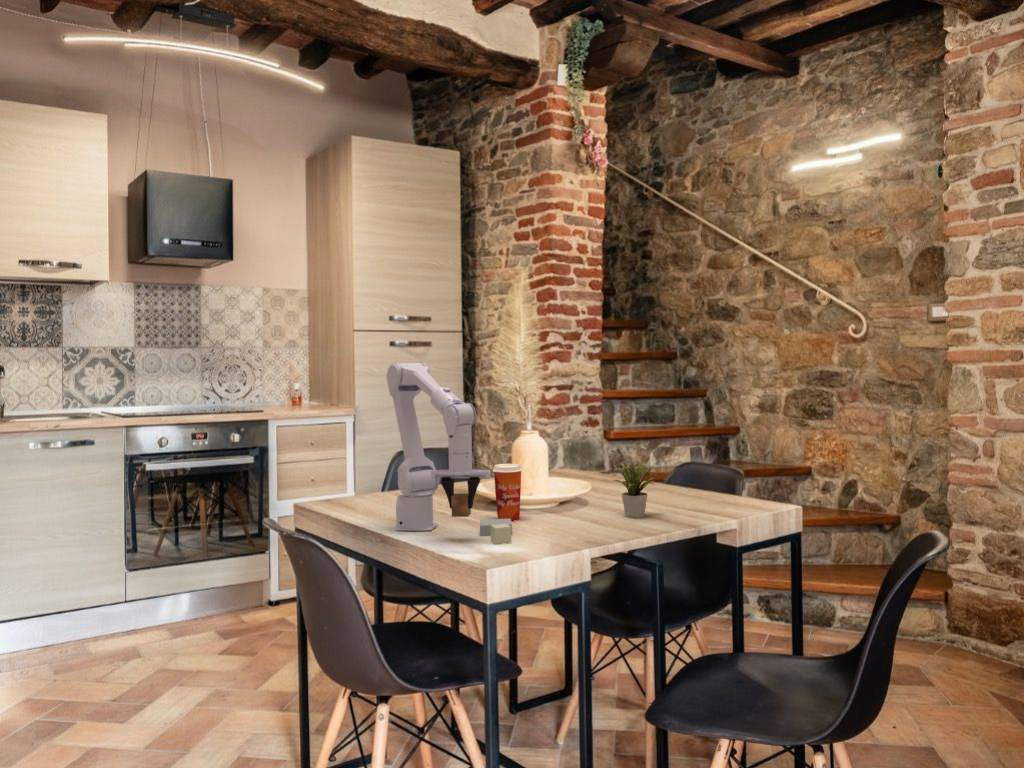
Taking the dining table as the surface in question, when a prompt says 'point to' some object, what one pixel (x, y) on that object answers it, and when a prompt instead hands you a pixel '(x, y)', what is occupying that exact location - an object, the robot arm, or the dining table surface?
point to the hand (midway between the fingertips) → (461, 507)
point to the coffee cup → (508, 490)
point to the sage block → (500, 533)
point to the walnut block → (460, 505)
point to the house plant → (634, 489)
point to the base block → (486, 524)
